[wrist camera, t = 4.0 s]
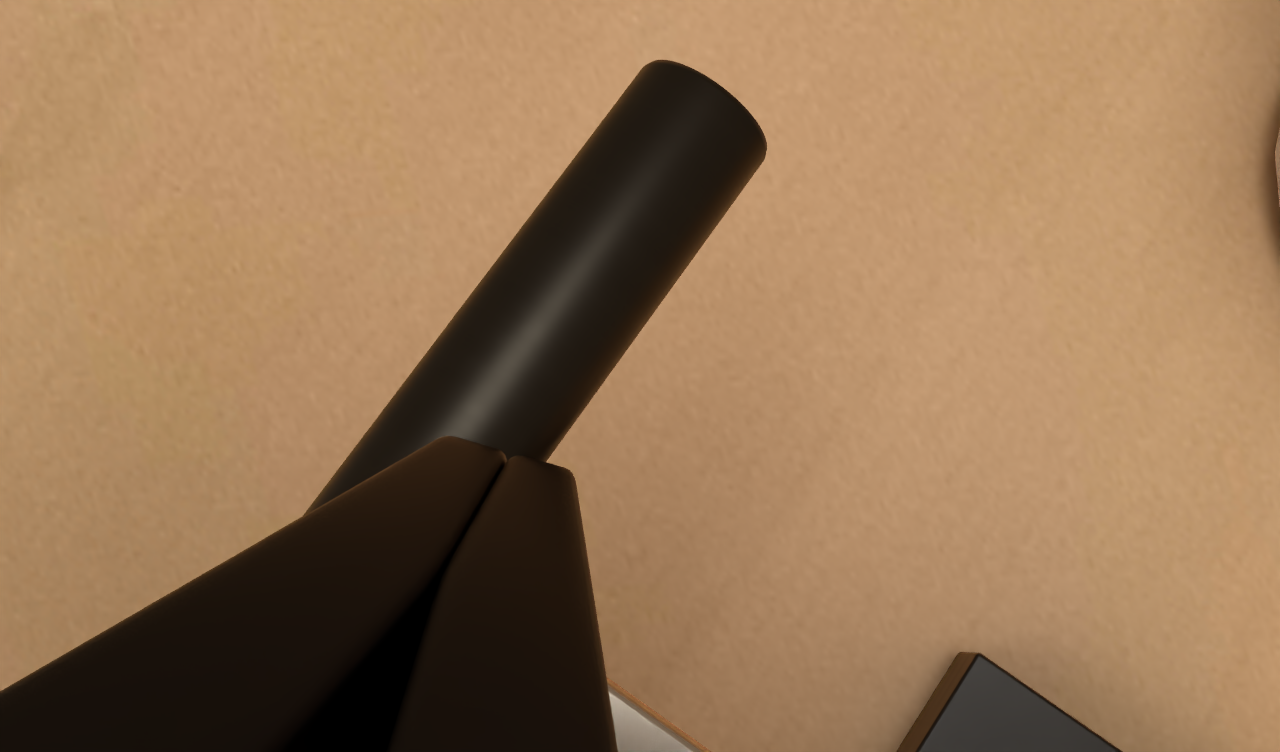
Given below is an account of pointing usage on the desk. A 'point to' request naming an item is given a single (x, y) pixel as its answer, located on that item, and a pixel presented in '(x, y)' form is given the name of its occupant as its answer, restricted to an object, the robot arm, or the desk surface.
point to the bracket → (995, 716)
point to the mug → (1278, 163)
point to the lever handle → (578, 298)
